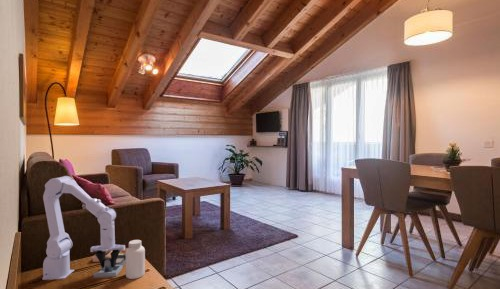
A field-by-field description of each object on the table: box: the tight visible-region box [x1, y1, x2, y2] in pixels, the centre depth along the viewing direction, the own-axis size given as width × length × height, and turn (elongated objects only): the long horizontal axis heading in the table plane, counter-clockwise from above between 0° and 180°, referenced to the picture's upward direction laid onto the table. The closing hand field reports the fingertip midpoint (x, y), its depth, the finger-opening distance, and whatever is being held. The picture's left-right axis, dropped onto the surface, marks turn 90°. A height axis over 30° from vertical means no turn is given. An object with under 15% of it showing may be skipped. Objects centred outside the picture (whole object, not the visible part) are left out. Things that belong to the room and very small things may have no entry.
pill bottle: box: [125, 239, 146, 280], centre depth 126 cm, size 8×8×15 cm
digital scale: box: [116, 253, 126, 267], centre depth 137 cm, size 10×8×3 cm
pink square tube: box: [92, 251, 113, 263], centre depth 143 cm, size 7×7×3 cm
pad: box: [116, 258, 124, 264], centre depth 137 cm, size 5×5×1 cm
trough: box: [92, 265, 124, 279], centre depth 128 cm, size 10×8×2 cm
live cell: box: [104, 256, 114, 272], centre depth 128 cm, size 4×4×6 cm
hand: (108, 266), depth 128 cm, fingers closed on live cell, 4 cm apart
